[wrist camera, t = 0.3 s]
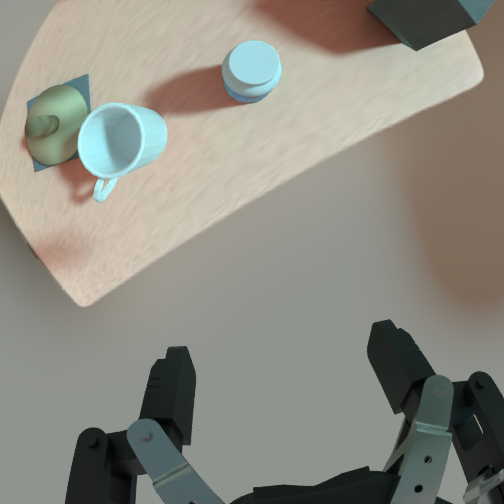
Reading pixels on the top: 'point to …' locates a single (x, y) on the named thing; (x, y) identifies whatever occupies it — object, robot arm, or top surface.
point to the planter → (428, 18)
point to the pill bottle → (251, 71)
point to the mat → (83, 87)
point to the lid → (55, 124)
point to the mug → (119, 142)
